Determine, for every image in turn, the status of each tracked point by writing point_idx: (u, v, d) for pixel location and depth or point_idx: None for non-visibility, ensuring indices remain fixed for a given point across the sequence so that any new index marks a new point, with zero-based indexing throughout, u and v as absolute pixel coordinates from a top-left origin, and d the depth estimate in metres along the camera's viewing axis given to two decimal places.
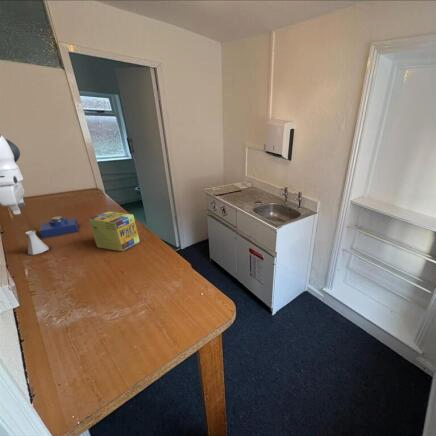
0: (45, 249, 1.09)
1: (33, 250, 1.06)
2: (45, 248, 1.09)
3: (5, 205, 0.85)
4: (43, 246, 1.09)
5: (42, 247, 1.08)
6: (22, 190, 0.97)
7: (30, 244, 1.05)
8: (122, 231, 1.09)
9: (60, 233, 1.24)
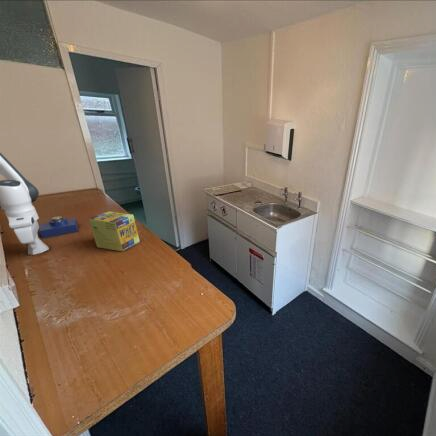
0: (45, 249, 1.09)
1: (33, 250, 1.06)
2: (45, 248, 1.09)
3: (24, 243, 0.98)
4: (43, 246, 1.09)
5: (42, 247, 1.08)
6: (37, 226, 1.10)
7: None
8: (122, 231, 1.09)
9: (60, 233, 1.24)
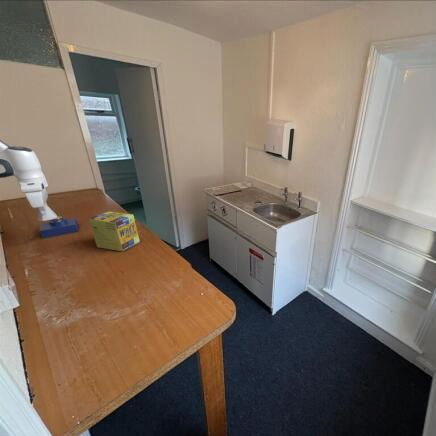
0: (54, 216, 1.13)
1: (43, 217, 1.10)
2: (54, 215, 1.13)
3: (35, 207, 1.02)
4: (52, 213, 1.13)
5: (51, 214, 1.12)
6: (46, 194, 1.14)
7: None
8: (122, 231, 1.09)
9: (60, 233, 1.24)
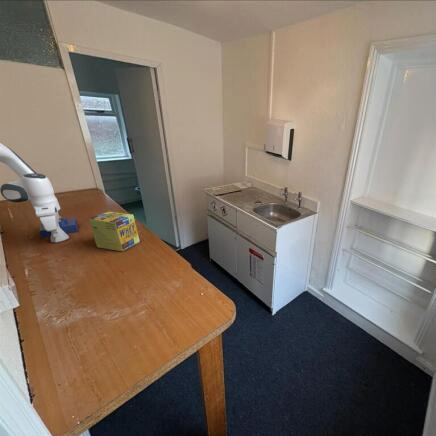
0: (66, 237, 1.20)
1: (56, 238, 1.16)
2: (66, 237, 1.20)
3: (49, 230, 1.09)
4: (64, 235, 1.19)
5: (63, 235, 1.19)
6: (58, 216, 1.21)
7: None
8: (122, 231, 1.09)
9: None
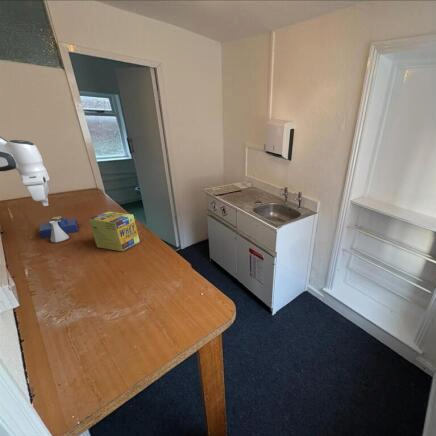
0: (66, 237, 1.20)
1: (56, 238, 1.16)
2: (66, 237, 1.20)
3: (36, 200, 1.03)
4: (64, 235, 1.19)
5: (63, 235, 1.19)
6: (47, 188, 1.15)
7: (53, 233, 1.16)
8: (122, 231, 1.09)
9: None
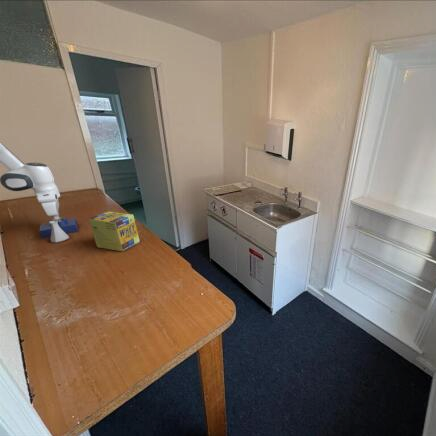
0: (66, 237, 1.20)
1: (56, 238, 1.16)
2: (66, 237, 1.20)
3: (49, 215, 1.17)
4: (64, 235, 1.19)
5: (63, 235, 1.19)
6: (58, 203, 1.29)
7: (53, 233, 1.16)
8: (122, 231, 1.09)
9: None
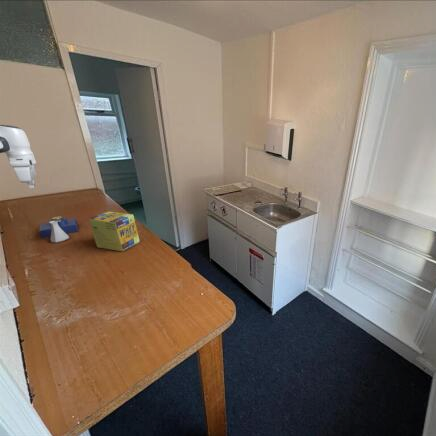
0: (66, 237, 1.20)
1: (56, 238, 1.16)
2: (66, 237, 1.20)
3: (22, 181, 1.11)
4: (64, 235, 1.19)
5: (63, 235, 1.19)
6: (34, 172, 1.23)
7: (53, 233, 1.16)
8: (122, 231, 1.09)
9: None
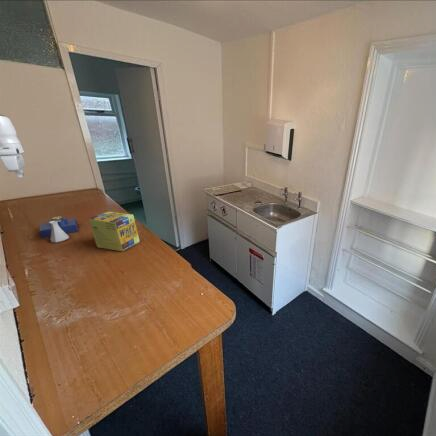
0: (66, 237, 1.20)
1: (56, 238, 1.16)
2: (66, 237, 1.20)
3: (10, 170, 1.09)
4: (64, 235, 1.19)
5: (63, 235, 1.19)
6: (23, 162, 1.21)
7: (53, 233, 1.16)
8: (122, 231, 1.09)
9: None
